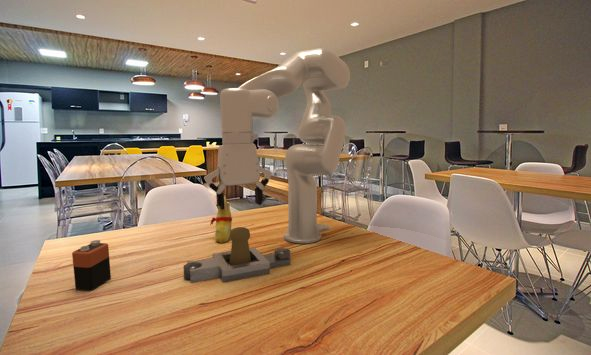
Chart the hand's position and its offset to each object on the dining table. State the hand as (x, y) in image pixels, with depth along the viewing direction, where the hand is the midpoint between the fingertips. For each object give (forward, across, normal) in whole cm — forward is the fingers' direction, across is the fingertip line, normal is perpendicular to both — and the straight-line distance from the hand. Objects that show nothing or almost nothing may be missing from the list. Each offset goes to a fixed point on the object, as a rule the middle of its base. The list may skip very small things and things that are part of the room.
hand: (240, 206), depth 86 cm
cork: (+17, +1, 0) cm, 17 cm away
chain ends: (+17, +1, 0) cm, 17 cm away
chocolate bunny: (+18, 0, -26) cm, 32 cm away
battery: (+16, +35, -6) cm, 39 cm away
